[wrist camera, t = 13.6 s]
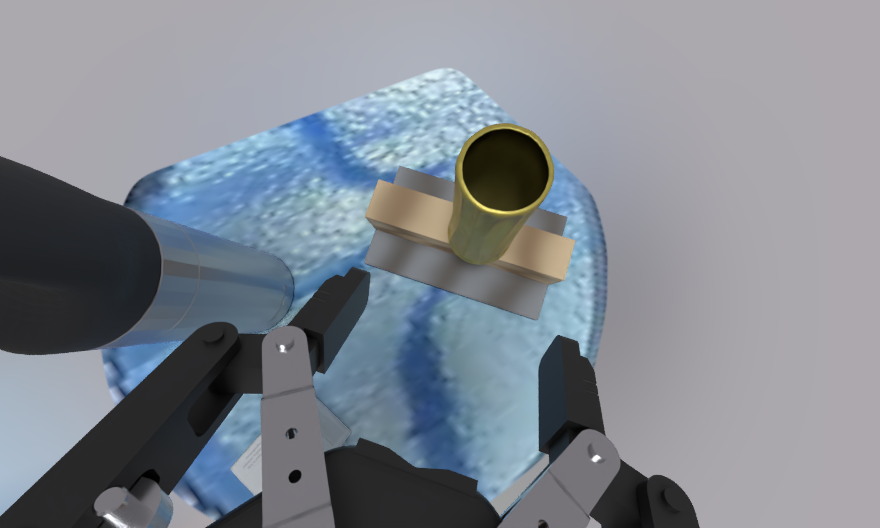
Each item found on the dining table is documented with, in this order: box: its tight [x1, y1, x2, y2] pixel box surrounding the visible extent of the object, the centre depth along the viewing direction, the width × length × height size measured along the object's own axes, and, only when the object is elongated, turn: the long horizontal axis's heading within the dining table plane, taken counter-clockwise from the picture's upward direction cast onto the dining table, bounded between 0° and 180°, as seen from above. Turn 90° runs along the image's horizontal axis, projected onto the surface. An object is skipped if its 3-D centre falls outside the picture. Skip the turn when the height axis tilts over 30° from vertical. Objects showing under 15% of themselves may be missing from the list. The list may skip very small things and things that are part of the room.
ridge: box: [364, 166, 575, 320], centre depth 34 cm, size 20×12×6 cm, turn 72°
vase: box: [448, 123, 554, 265], centre depth 24 cm, size 6×6×14 cm
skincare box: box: [231, 398, 351, 495], centre depth 31 cm, size 6×6×7 cm
